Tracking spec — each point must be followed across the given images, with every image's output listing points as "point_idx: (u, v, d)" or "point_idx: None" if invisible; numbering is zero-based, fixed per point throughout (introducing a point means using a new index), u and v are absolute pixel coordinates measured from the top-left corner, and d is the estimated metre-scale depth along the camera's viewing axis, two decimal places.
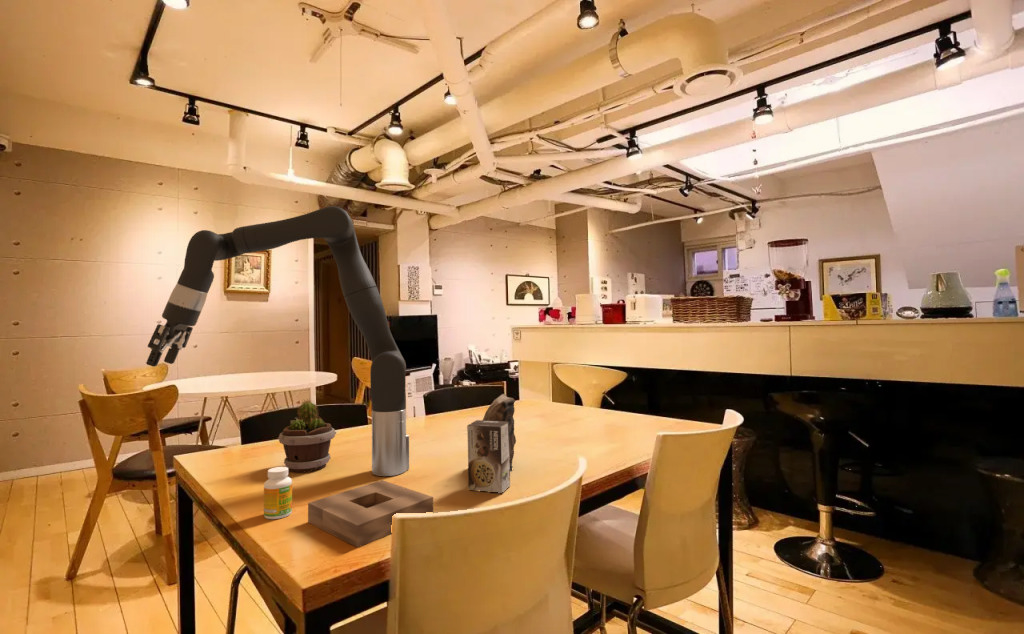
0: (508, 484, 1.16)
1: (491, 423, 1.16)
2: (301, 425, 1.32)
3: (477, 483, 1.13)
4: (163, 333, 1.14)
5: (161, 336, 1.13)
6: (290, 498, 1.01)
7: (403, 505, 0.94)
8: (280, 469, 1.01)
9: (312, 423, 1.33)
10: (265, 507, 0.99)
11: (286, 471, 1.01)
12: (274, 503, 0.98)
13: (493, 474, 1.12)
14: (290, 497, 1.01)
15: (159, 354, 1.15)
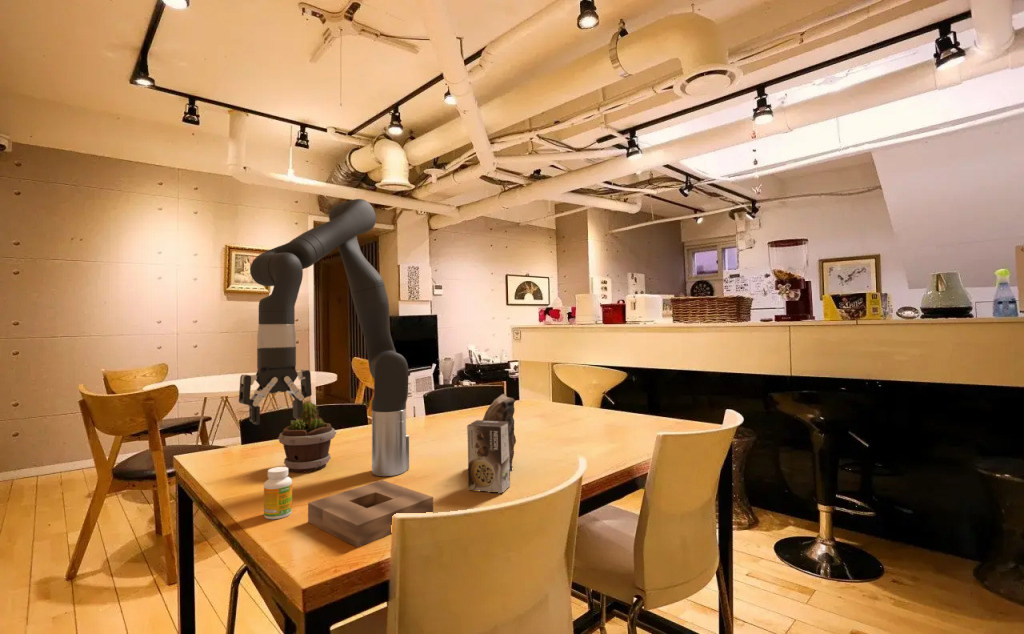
0: (508, 484, 1.16)
1: (491, 423, 1.16)
2: (301, 425, 1.32)
3: (477, 483, 1.13)
4: None
5: None
6: (290, 498, 1.01)
7: (403, 505, 0.94)
8: (280, 469, 1.01)
9: (312, 423, 1.33)
10: (265, 507, 0.99)
11: (286, 471, 1.01)
12: (274, 503, 0.98)
13: (493, 474, 1.12)
14: (290, 497, 1.01)
15: None
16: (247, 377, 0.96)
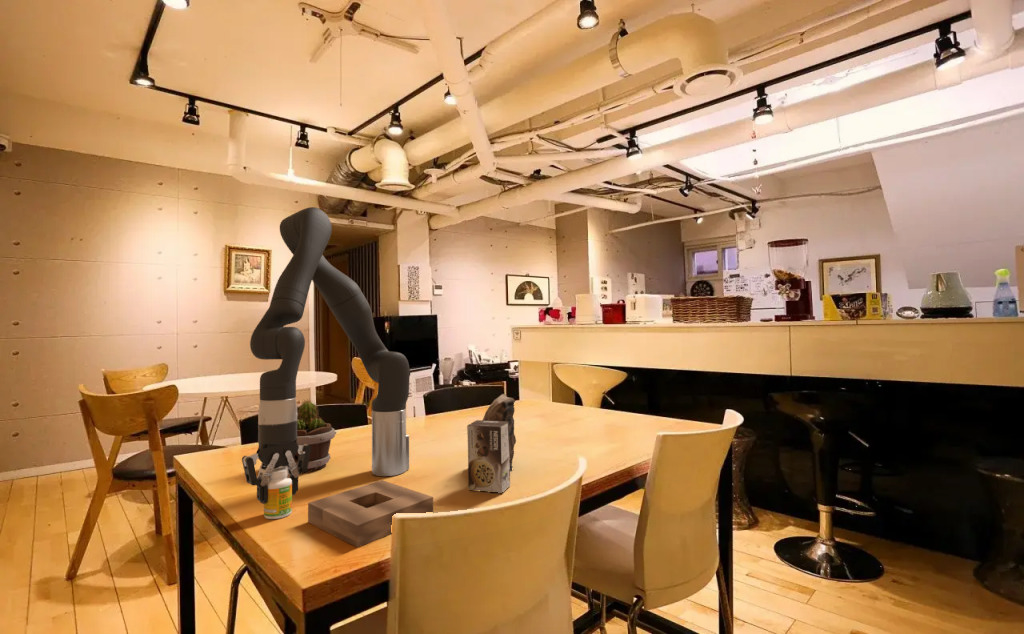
0: (508, 484, 1.16)
1: (491, 423, 1.16)
2: (301, 425, 1.32)
3: (477, 483, 1.13)
4: None
5: None
6: (290, 498, 1.01)
7: (403, 505, 0.94)
8: (280, 469, 1.01)
9: (312, 423, 1.33)
10: (265, 507, 0.99)
11: (286, 471, 1.01)
12: (274, 503, 0.98)
13: (493, 474, 1.12)
14: (290, 497, 1.01)
15: None
16: (249, 460, 0.95)
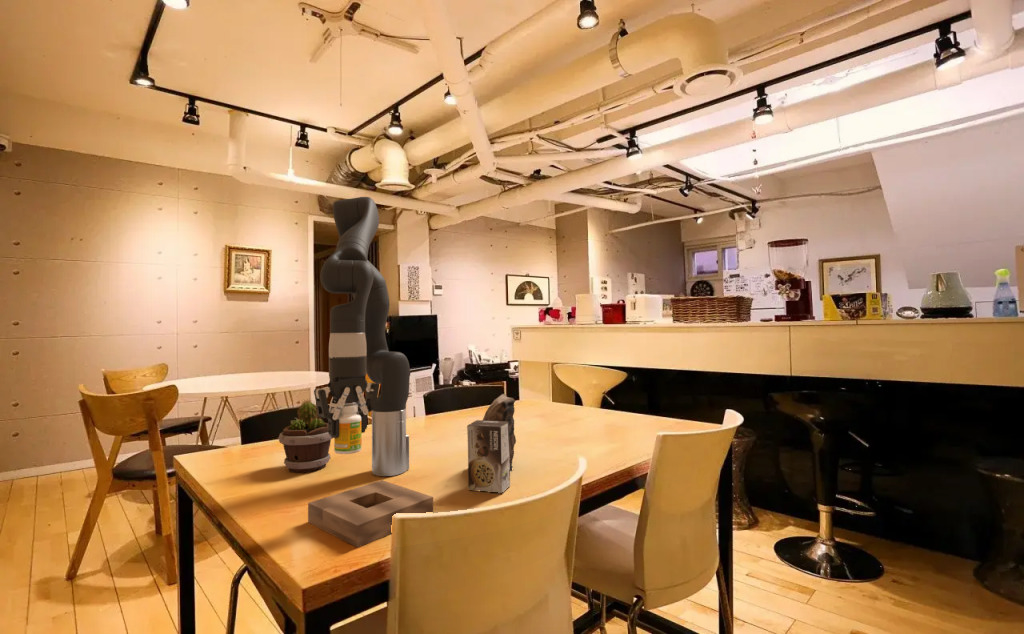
0: (508, 484, 1.16)
1: (491, 423, 1.16)
2: (301, 425, 1.32)
3: (477, 483, 1.13)
4: None
5: None
6: (360, 434, 0.99)
7: (403, 505, 0.94)
8: (350, 405, 0.99)
9: (312, 423, 1.33)
10: (336, 442, 0.97)
11: (356, 407, 0.98)
12: (346, 438, 0.96)
13: (493, 474, 1.12)
14: (360, 433, 0.99)
15: None
16: (321, 392, 0.93)
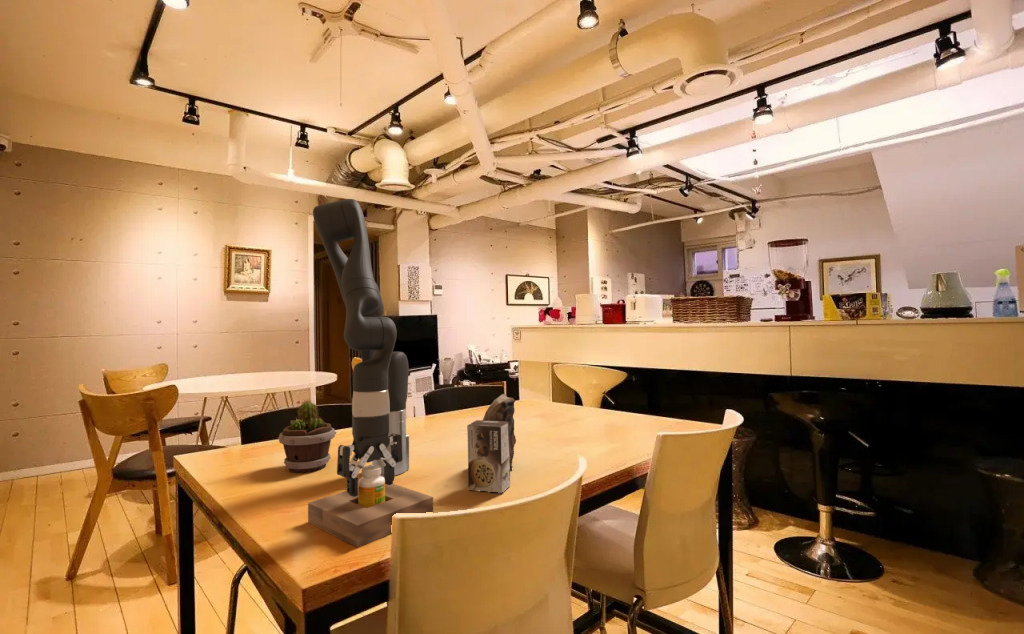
0: (508, 484, 1.16)
1: (491, 423, 1.16)
2: (301, 425, 1.32)
3: (477, 483, 1.13)
4: None
5: None
6: (384, 497, 0.98)
7: (403, 505, 0.94)
8: (374, 467, 0.98)
9: (312, 423, 1.33)
10: None
11: (380, 469, 0.98)
12: (370, 502, 0.95)
13: (493, 474, 1.12)
14: (384, 496, 0.98)
15: None
16: (347, 449, 0.92)
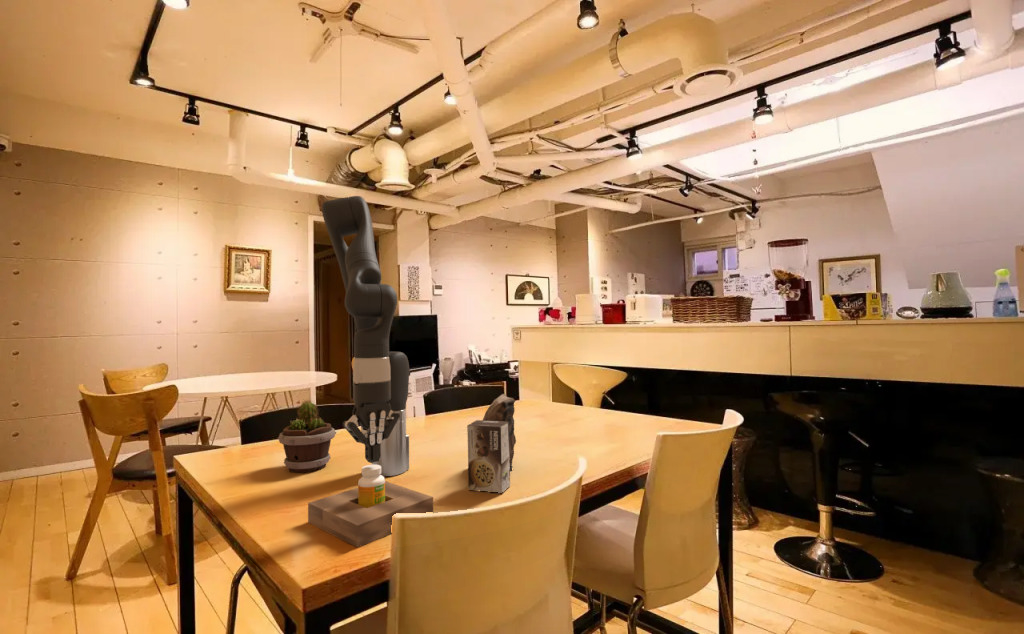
0: (508, 484, 1.16)
1: (491, 423, 1.16)
2: (301, 425, 1.32)
3: (477, 483, 1.13)
4: None
5: None
6: (384, 497, 0.98)
7: (403, 505, 0.94)
8: (374, 467, 0.98)
9: (312, 423, 1.33)
10: None
11: (380, 469, 0.98)
12: (370, 502, 0.95)
13: (493, 474, 1.12)
14: (384, 496, 0.98)
15: None
16: (351, 425, 0.93)
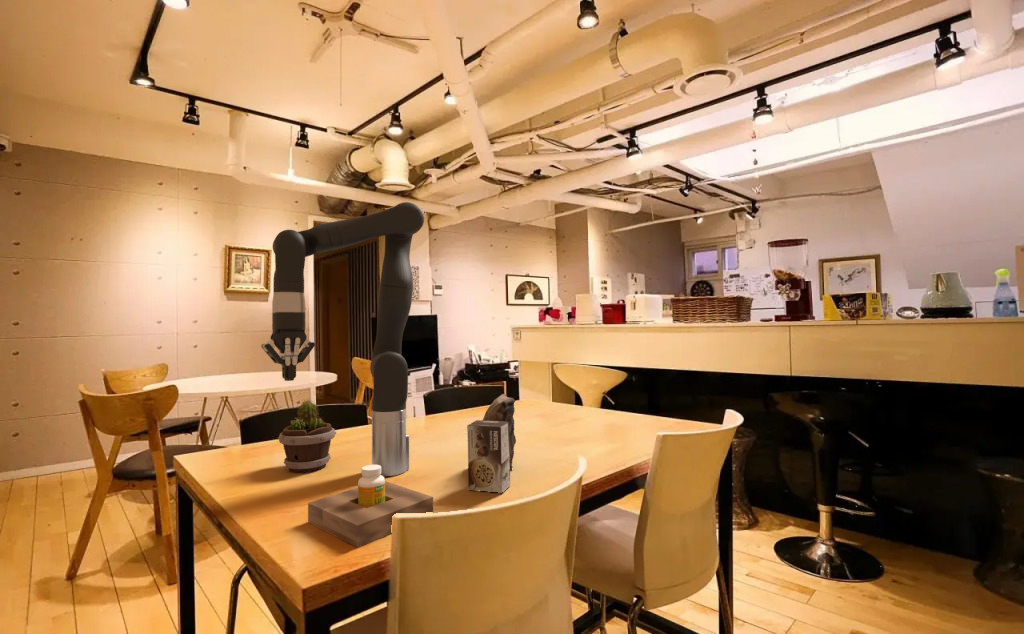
0: (508, 484, 1.16)
1: (491, 423, 1.16)
2: (301, 425, 1.32)
3: (477, 483, 1.13)
4: None
5: None
6: (384, 497, 0.98)
7: (403, 505, 0.94)
8: (374, 467, 0.98)
9: (312, 423, 1.33)
10: None
11: (380, 469, 0.98)
12: (370, 502, 0.95)
13: (493, 474, 1.12)
14: (384, 496, 0.98)
15: None
16: (267, 346, 1.12)
